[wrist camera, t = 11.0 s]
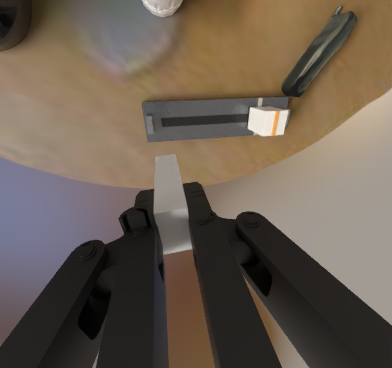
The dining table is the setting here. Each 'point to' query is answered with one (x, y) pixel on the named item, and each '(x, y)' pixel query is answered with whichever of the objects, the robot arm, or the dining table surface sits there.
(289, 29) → the dining table surface
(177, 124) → the grey slider track
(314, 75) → the mobile phone
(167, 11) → the white cup
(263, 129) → the fader
